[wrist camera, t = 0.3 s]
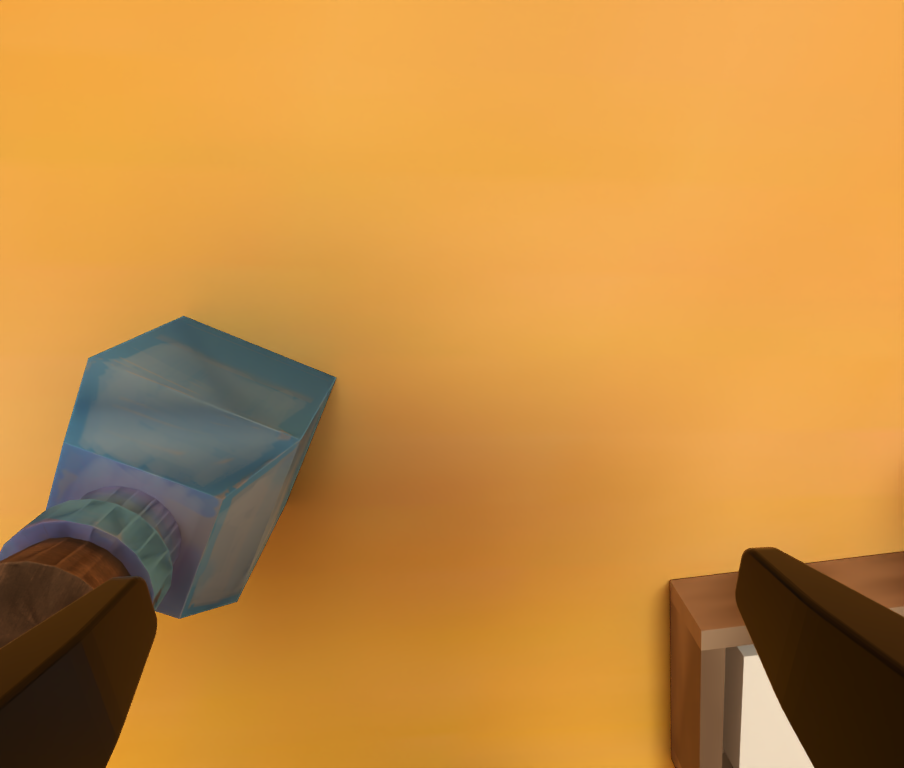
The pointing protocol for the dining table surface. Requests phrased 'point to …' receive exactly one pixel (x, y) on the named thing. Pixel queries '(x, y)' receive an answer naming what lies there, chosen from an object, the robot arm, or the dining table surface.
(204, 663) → the dining table surface
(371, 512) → the dining table surface
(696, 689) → the rack
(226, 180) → the dining table surface
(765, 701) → the napkin stack
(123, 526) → the perfume bottle
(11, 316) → the dining table surface
